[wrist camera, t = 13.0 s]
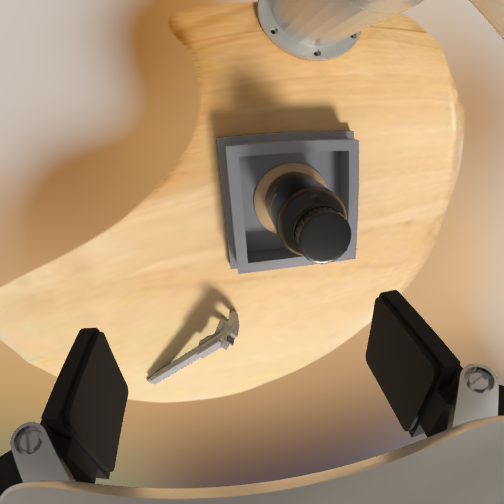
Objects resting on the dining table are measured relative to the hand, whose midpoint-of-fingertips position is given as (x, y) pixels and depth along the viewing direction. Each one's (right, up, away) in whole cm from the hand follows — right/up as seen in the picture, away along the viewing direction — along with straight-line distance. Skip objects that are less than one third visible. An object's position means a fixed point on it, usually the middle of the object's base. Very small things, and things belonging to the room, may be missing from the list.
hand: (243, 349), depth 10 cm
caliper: (-10, -11, +36) cm, 39 cm away
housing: (+5, +10, +28) cm, 30 cm away
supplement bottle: (+5, +9, +26) cm, 28 cm away
